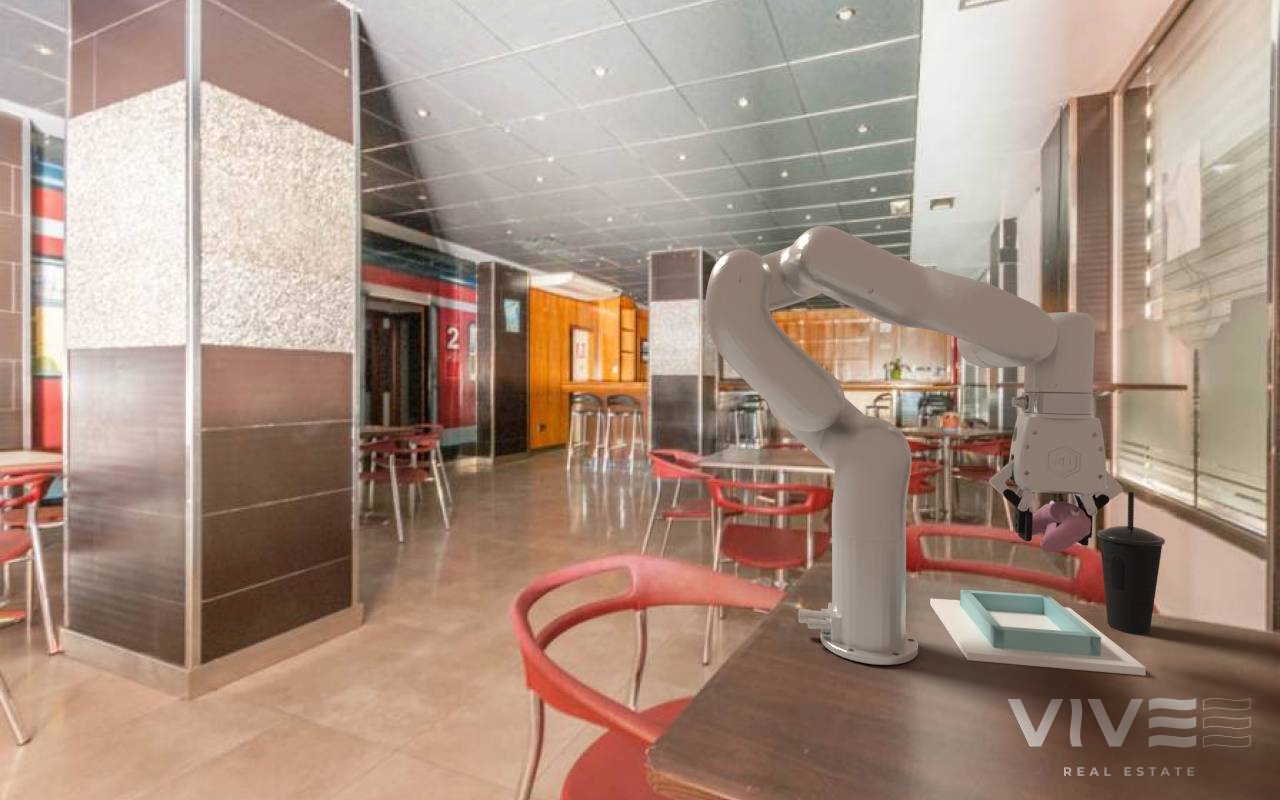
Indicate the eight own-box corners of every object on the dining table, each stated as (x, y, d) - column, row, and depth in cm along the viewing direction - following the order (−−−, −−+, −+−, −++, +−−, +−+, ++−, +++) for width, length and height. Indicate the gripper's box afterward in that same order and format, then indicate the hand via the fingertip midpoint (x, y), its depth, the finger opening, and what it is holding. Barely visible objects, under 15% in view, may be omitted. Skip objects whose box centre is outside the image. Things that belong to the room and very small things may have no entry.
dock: (967, 660, 79) (967, 633, 79) (930, 604, 98) (930, 583, 98) (1145, 675, 74) (1146, 647, 74) (1069, 614, 94) (1069, 591, 94)
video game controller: (1075, 567, 76) (1106, 519, 75) (1039, 548, 77) (1069, 501, 76) (1044, 546, 85) (1070, 504, 84) (1012, 530, 86) (1038, 488, 85)
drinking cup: (1173, 642, 83) (1176, 498, 83) (1107, 634, 86) (1109, 495, 86) (1149, 621, 91) (1151, 489, 90) (1088, 614, 93) (1090, 486, 93)
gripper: (992, 406, 79) (988, 542, 79) (1149, 409, 74) (1143, 554, 75) (977, 404, 86) (973, 529, 87) (1118, 406, 81) (1113, 539, 82)
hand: (1052, 539), depth 81 cm, fingers closed on video game controller, 5 cm apart
